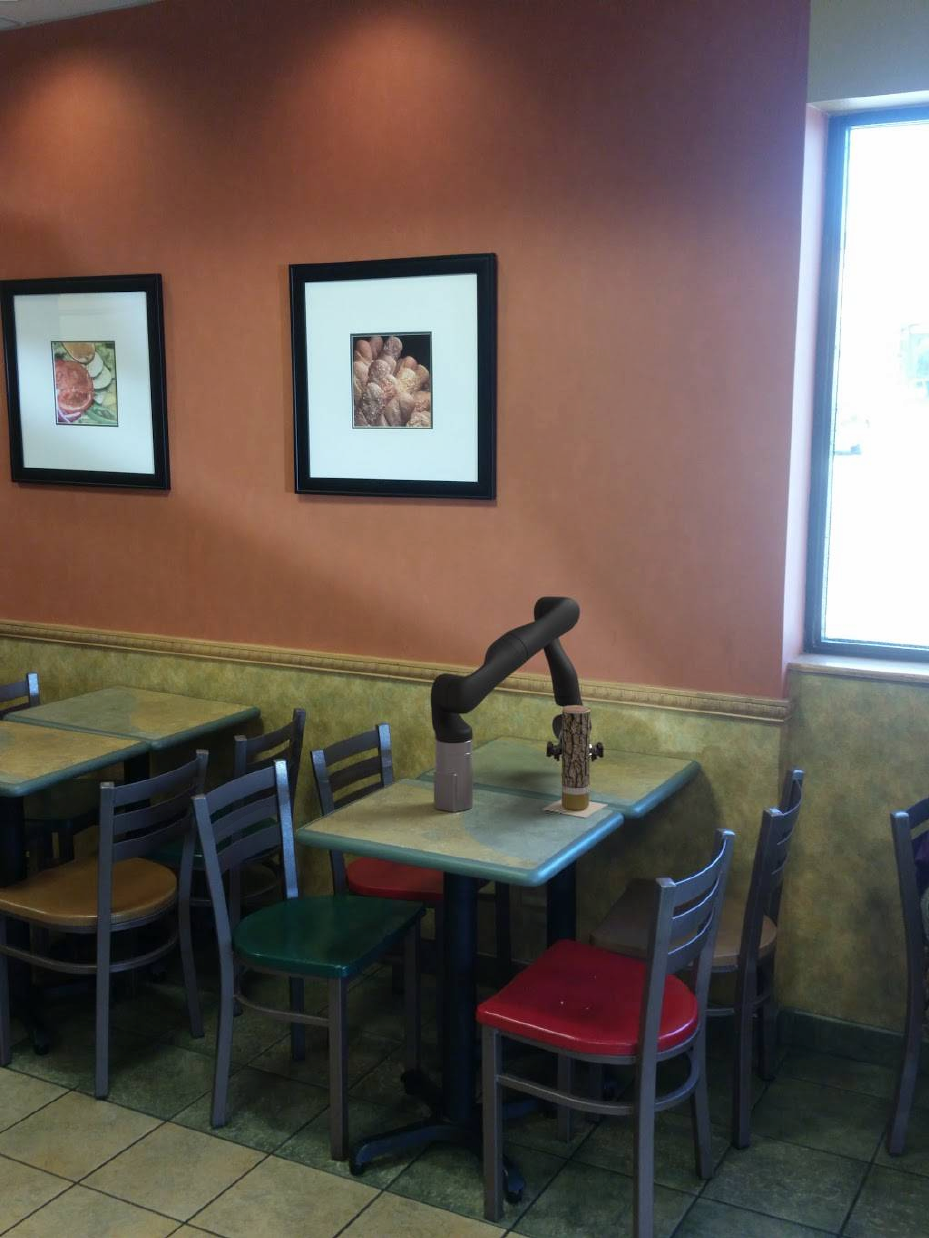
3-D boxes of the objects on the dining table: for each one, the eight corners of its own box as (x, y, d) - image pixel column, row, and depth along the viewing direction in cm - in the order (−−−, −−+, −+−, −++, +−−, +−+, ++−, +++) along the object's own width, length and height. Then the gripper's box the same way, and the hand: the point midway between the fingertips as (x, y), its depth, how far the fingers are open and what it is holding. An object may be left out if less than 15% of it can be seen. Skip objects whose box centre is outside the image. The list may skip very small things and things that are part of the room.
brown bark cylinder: (567, 812, 301) (568, 712, 297) (557, 804, 307) (558, 706, 303) (593, 809, 302) (594, 710, 299) (583, 801, 309) (584, 704, 305)
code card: (585, 818, 297) (585, 817, 297) (542, 809, 303) (542, 809, 303) (608, 805, 306) (608, 804, 306) (565, 797, 313) (565, 796, 313)
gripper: (546, 726, 318) (546, 742, 302) (601, 726, 317) (605, 742, 301) (545, 754, 319) (546, 771, 303) (601, 755, 318) (604, 772, 302)
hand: (575, 757), depth 302 cm, fingers open, 8 cm apart
